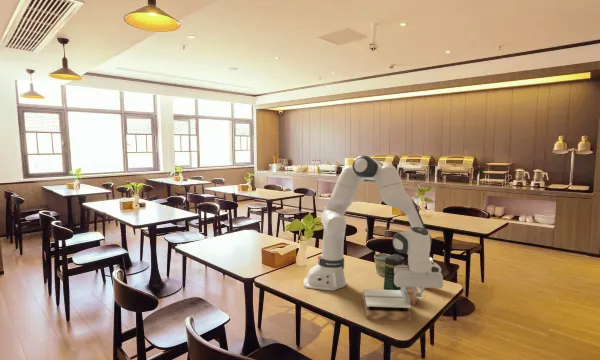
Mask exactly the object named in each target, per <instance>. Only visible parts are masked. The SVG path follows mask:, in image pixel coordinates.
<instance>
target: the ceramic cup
mask: <svg viewBox="0 0 600 360" xmlns="http://www.w3.org/2000/svg"><path fill="white" fill-rule="evenodd" d="M390 255H391V254H388V253H377V254H374V255H373V257H374V258H373V259H374V264H375V270H376V274H377V275H379V276H383V277H385V264H384V263H385V258H386V257H388V256H390Z"/></svg>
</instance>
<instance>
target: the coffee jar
mask: <svg viewBox="0 0 600 360" xmlns="http://www.w3.org/2000/svg"><path fill="white" fill-rule="evenodd" d="M389 255H390V256H388V257H386V258H385V263H384V264H385V276H383V277H384V280H383V290H401V287H397V286H396V285H395V284H394V276H395V274H394V268H395V267H396V266H397V265H404V256H402V255H400V254H396V253H394V254H389Z"/></svg>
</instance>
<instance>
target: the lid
mask: <svg viewBox="0 0 600 360" xmlns="http://www.w3.org/2000/svg"><path fill="white" fill-rule="evenodd" d="M363 292H364V296H365V300H366V305H367V306H373V307H400V308H410V309H412V306H411V305H412V304H410V296H409V294H408V292H407V290H406V288H405V287H401V290H384V289H373V288H372V289H371V288H370V289H367V288H364V289H362V293H363Z"/></svg>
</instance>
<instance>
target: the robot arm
mask: <svg viewBox="0 0 600 360" xmlns="http://www.w3.org/2000/svg"><path fill="white" fill-rule="evenodd" d="M362 181H365V182H376V183H377V187H378V190H379V194H380V198H381V200H382V202H383V203H384V204H386V205H387V206H389V207H393V208H395V209H398V210H400V211H401V212H403V213H404V214H405V216H406V217H407V220H408V222H409V224H410V227H411V228H409V229H408V230H403V231H399V232H398V231H397V232H396V233H395V234H393V237H392V247H393V248H394V250H395V251H396V252H397V253H398V254H406V255H407V256H408V257H407V264H403V265H397V266H396V267H395V268H394V274H395V276H394V284H395V285H396V286H397V287H411V288H412V290H413V291H414V297H416V298H417V297H418V298H422V295H423V293H424V292H425V290H426V289H425V288H429V289H442V288H443V287H444V276H443V274H442V267H441V266H440V265H439V264H438V263H436V262H434V261H433V262H431V261H430V258H429V257H430V252H431V245H432V236H431V234H430V232H429V231H428V229H427V227H426V226H425V223H424V221H423V219H422V216H421V214H420V212H419V209H418V208H417V205H416V204H415V201H414V200H413V198H412V197H411V196H409V195H408V193H407V191H406V189H405V188H404V185H403V181H402V179H401V176H400V173H399V172H398V170H397V168H396V167H395V166H394V165H391V164H385V165H383V164H382V162H380V161H379V160H377V159H376V158H373V157H371V156H368V155H360V156H359V155H358V156H356V158H355V159H354V161H352V164H351V165H350V164H348V165H346V166H344V167H343V169H342V171H341V172H340V174H339V176H338V177H337V180H336V182H335V185H334V188H333V190H332V192H331V195H330V198H329V200H328V201H327V203H326V205H325V207H324V209H323V211H322V213H321V214H320V223H321V225H322V226H323V234H322V235H323V236H322V240H321V241H322V242H321V244H322V245H321V255H320V254H318V256H317V261H318V262H317V264H316V265H314V266H313V267H311V268H310V269H309V271H308V273H307V276H306V277H304V279H303V283H302V285H303V287H304V288H306V289H313V290H323V291H331V292H333V291H336V290H337V289H341V288H344V287H346V285H347V280H346V278H345V271H344V268H345V257H344V240H345V235H346V228H347V222H346V219H345V217H344V215H345V214H346V212H347V210H348V209H349V208H350V206H351V205H352V203H353V200H354V198H355V195H356V192H357V191H358V187H359V185H360V183H361V182H362ZM417 288H419V289H420V290H419V291H417V292H415V290H416V289H417ZM414 289H415V290H414Z"/></svg>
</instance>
